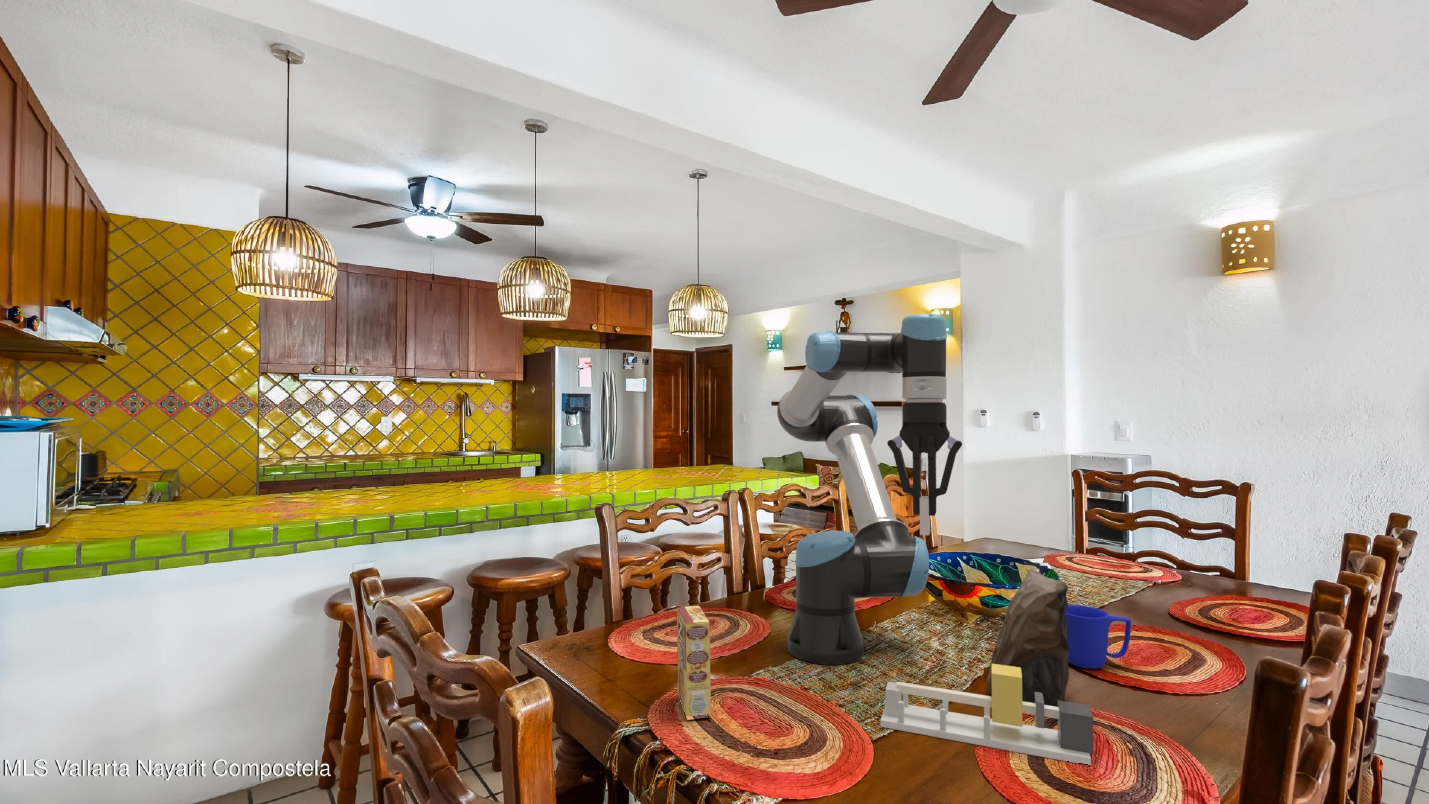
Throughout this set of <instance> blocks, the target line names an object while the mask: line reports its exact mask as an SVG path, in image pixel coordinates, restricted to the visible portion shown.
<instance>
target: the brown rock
mask: <svg viewBox="0 0 1429 804" xmlns="http://www.w3.org/2000/svg"><path fill="white" fill-rule="evenodd" d="M1068 589H1069V586H1068V585H1067V583H1066V582H1065V581H1063V580H1056V579H1054V578H1050V577H1047V576H1044V575H1042V573H1041V572H1040V571H1038V570H1034V569H1029V570H1028V572H1027V574H1026V576H1025V578H1024V579H1023V580H1022V582H1021V584H1020V586H1019V588H1018V589H1017V591H1016V592H1015V594H1014V595H1013V596H1012V598H1011V599H1010V601H1009V604H1008V606H1007V609H1006V614H1005V617H1004V621H1003V623H1002V626H1001V629H1000V631H999V633H998V636H997V638H996V642H995V645H994V649H993V652H992V655H991V661H990V664H989V666H988V667H989V669H988V675H987V679H986V683H987V691H986V695H988V696H990V695H991V696H992V664H999V665H1006V666H1013V667H1020V668H1021V673H1022V701H1023V702H1030V703H1035V692H1039V693H1042V695H1043V700H1044V705H1049V706H1055V707H1058V706H1057V700H1059V701H1066V699H1065V698H1066V697H1065V696H1066V691H1067V687H1068V682H1069V677H1070V670H1069V667H1070V666H1069V662H1068V657H1069V653H1068V651H1069V649H1070V646H1069V644H1068V636H1069V632H1068V625H1067V623H1066V611H1067V607H1068V605H1069V602H1068V598H1067V593H1068Z"/></svg>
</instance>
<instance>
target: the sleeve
mask: <svg viewBox="0 0 1429 804" xmlns="http://www.w3.org/2000/svg"><path fill="white" fill-rule="evenodd" d="M991 696H992V708H991V719H992V722H996V723H1002V724H1008V725H1014V726H1019V727H1023V713H1022V673H1021V668H1020V667H1013V666H1006V665H999V664H992V695H991Z"/></svg>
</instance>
